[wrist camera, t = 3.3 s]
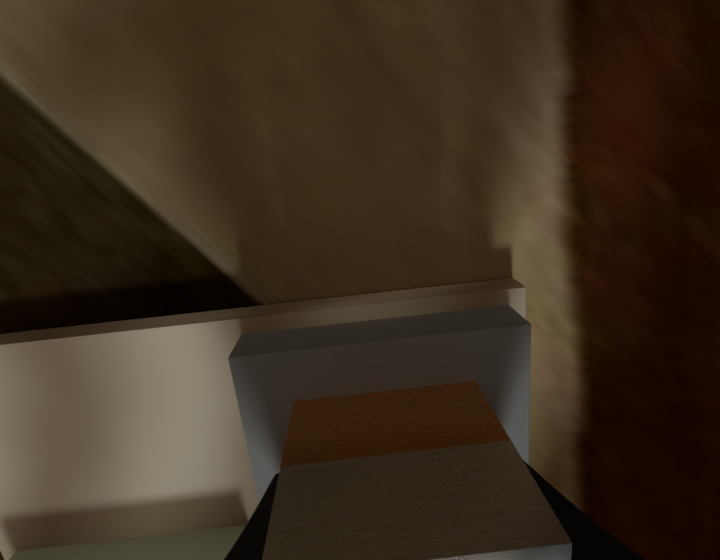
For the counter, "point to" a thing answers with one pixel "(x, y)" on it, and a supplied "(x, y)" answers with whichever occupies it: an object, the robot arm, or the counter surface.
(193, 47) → the counter surface
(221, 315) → the board
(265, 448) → the stand
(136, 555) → the stand
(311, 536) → the block
